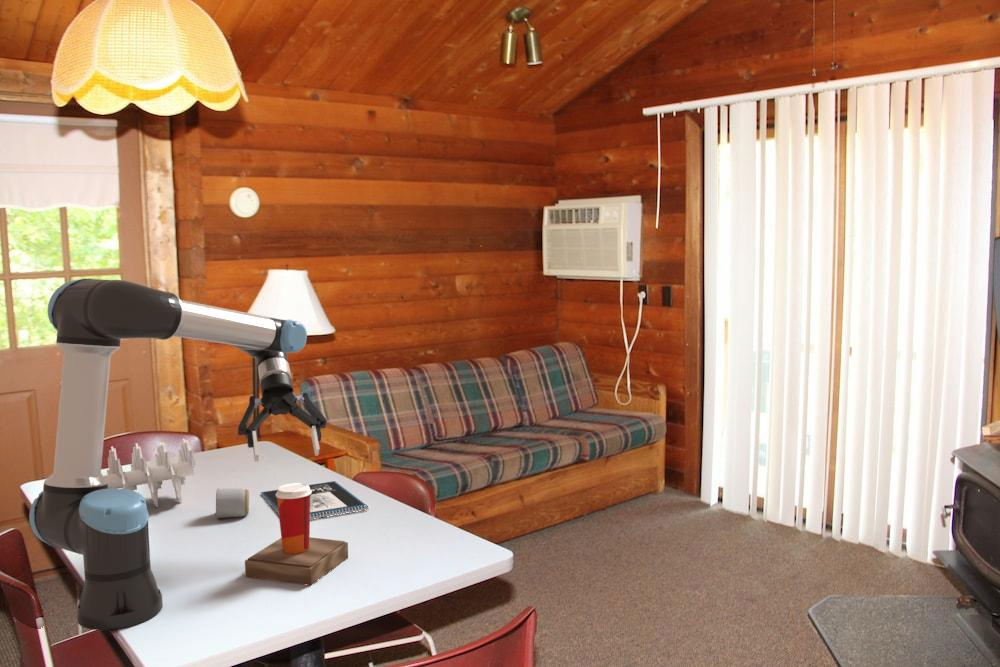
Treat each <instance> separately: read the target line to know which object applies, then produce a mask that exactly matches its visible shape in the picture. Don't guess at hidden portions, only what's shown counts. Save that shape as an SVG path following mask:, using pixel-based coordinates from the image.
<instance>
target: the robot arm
mask: <svg viewBox="0 0 1000 667" xmlns="http://www.w3.org/2000/svg"><path fill="white" fill-rule="evenodd" d="M47 317H48V319H49V323H50V324H51V325H52V326H53V328H54V329H55V331H56V342H55V344H56V345H57V347H58V348H59V349H60V350H61V351H62V352H63V359H62V360H63V361H62V370H61V372H62V373H61V383H60V393H59V394H60V395H59V406H58V416H57V417H58V418H57V428H56V440H55V451H54V461H53V472H52V474H51V475H49V476H48V477H47V478H46V479H44V481H43V486H42V487H43V490H42V491H41V492H40V493H39V494H38V496H37V497H36V498H34V500H33V501H32V503H31V505H30V510H29V515H28V517H29V518H28V519H29V525H30V528H31V531H32V532H33V534H34V535H35V536H36V538H38V539H39V540H40V541H41V542H44V543H45V544H47V545H48V546H51V547H53V548H56V549H60V550H65V551H69V552H72V553H75V554H79V555H81V556H82V557H83V570H84V571H83V573H84V582H83V586H82V589H81V593H80V597H79V602H78V604H77V607H76V617H77V618H76V619H77V624H78V625H79V626H81V627H82V628H85V629H88V630H93V631H96V630H97V631H109V630H117V629H118V630H119V629H123V628H127V627H131V626H136V625H138V624H141V623H143V622H146V621H148V620H150V619H152V618H154V617H155V616H157V615H158V614H159V613H160V612H161V611H162V608H163V606H164V605H163V593H162V591H161V589H160V588H158V585H157V581H156V578H155V575H154V573H153V571H152V566H151V552H150V551H151V549H150V534H149V532H150V531H149V517H150V516H149V511H148V506H147V501H146V498H144V496H143V495H142V494H141V493H140V492H138V491H137V490H129V489H123V488H119V489H116V488H109V489H108V480H107V479H106V478H105V477H104V476H105V475H103V474H102V466H103V465H102V463H103V454H104V453H103V452H104V441H105V430H106V428H105V427H106V418H107V406H108V393H109V383H110V382H109V381H110V371H111V359H112V355H113V354H114V353H116V352H117V351H118V350H119V349H120V348H121V340H125V339H127V340H128V339H155V340H156V339H157V340H164V341H166V340H169V339H172V338H173V337H175V338H176V337H178V338H184V339H191V340H196V341H197V340H198V341H205V342H210V343H216V344H217V343H218V344H226V345H231V346H232V347H235V348H236V349H238V350H240V351H242V352H244V353H246V354H247V355H249V356H251V357H252V358H254V359H255V360H256V365H257V370H258V379H259V383H260V385H259V386H260V391H261V392H260V393H261V398H255V396H253V395H251V396H249V400H248V406H247V408H246V411H245V412H244V414H243V417H242V418H241V420H240V422H239V424H238V427H237V434H238V436H245V438H246V442H247V447H248V449H250V448H252V452H253V458H254V462H259V457H260V452H259V447H258V446H259V444H258V438H257V430H258V429H259V428H260V426H261V425H262V424H263V423H264V422H265V420H266V419H268V418H269V417H270V415H273V416H279V415H282V416H283V415H288V414H290V415H291V416H292V417H296V418H297V419H298V420H299V421H301V422H302V423H304V424H305V425H306V426H307V427H308V428H310V429H311V430H310V436H311V441H312V448H313V451H314V456H315V457H316V456H317V457H318V456H319V454H320V449H321V448H320V444H319V443H321V441H322V430H321V429H325V428H326V426H327V423H328V420H327V419H326V417H325V416H324V415H323V414H322V413H321V412H320V410H319V409H318V408H317V406H316V405H315V404H314V403H313V401H312V400H311V399H310V397H309V394H308V393H307V392H303V393H302V394H301V395H296V394H295V391H294V385H293V380H292V374H291V368H290V364H289V363H290V362H289V357H288V354H291V353H293V354H294V353H295V354H296V353H299V352H301V351H302V350H303V349H304V347H305V346H306V345H307V339H308V338H307V337H308V333H307V332H308V331H307V329H306V327H305V325H304V324H303V323H302V322H301V321H297V320H293V319H280V318H277V317H276V318H275V317H268V316H265V315H259V314H254V313H250V312H244V311H239V310H234V309H229V308H226V307H225V308H223V307H219V306H214V305H209V304H205V303H204V304H203V303H198V302H194V301H189V300H183V299H180V297H179V295H178V294H175V293H173V292H169V291H163V290H161V289H157V288H153V287H149V286H147V285H146V286H145V285H144V284H139V283H136V282H132V281H127V280H123V279H99V278H91V277H90V278H81V279H73V280H69V281H67V282H64V283H62V285H60V286H59V287H58V288H57V289H55V291H54V292H53V293H52V295H51V297H50V298H49V301H48V304H47ZM297 402H298V403H299V404H300V405H301V406H303V408H304V409H305V410H306V411H305V410H304V409H302V408H301V407H300V405H299V404H298V403H297ZM259 405H260V406H262V410H261V411H260V412H259V413H258V414H257V416H256V417H255V418H254V419H253V420H252V422H251V423H250V424H249V422H250V421H251V418H252V415H254V411H255V409H257V408H258V407H259ZM248 424H249V425H248Z"/></svg>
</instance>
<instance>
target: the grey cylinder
mask: <svg viewBox="0 0 1000 667" xmlns="http://www.w3.org/2000/svg"><path fill="white" fill-rule="evenodd" d="M249 511H250V490H248V489H247V488H243V487H242V488H241V487H240V488H237V487H235V488H229V487H228V488H222V487H221V488H216V493H215V516H216V517H215V518H216V519H217V520H219V519H229V518H240V517H241V518H242V517H246V516H248V515H249Z"/></svg>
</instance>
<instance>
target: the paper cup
mask: <svg viewBox="0 0 1000 667" xmlns="http://www.w3.org/2000/svg"><path fill="white" fill-rule="evenodd" d="M309 485H310V484H304V483H300V482H293V483H287V484H283V485H280V486H279V487H277V489H276V490H277V493H276V494H275V495H276V497H277V501H278V510H279V514H278V519H279V520H278V521H279V528H280V536H281V537H280V538H281V539H282V547H283V552H284V553H287V554H300V553H303V552H306V551H307V550H308V549H309V537H310V533H311V532H310V529H311V528H310V526H311V525H310V524H311V523H310V522H311V521H310V494H311V493H312V491H311V490H310V487H309Z"/></svg>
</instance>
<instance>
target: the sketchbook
mask: <svg viewBox="0 0 1000 667" xmlns="http://www.w3.org/2000/svg"><path fill="white" fill-rule="evenodd" d="M308 485H309V487H310V490H311V491H312V493H311V494H310V520H311V519H313V520H314V521H315V520H316V519H317V518H320V519H323V518H324V517H325V519H327V518H329V517H330V515H333V517H335V516H334V515H335V514H336V515H337V514H339V515H340V514H341V513H342V515H345V514H346V512H349V514H353V511H355V512H356V511H358V512H359V510H361V511H362V510H364V511H365V509H366V510H367V509H368V510H369V506H368V505H367V504H366V503H365V502H363V501H362V500H360V499H359V498H358V497H357V496H355V495H354V494H352V492H350V491H349V490H347V489H346V488H345V487H343V486H342V485H341V484H339V483H338V482H336V481H335V480H334V481H333V480H332V481H326V482H321V483H313V484H308ZM277 490H278V489H272V490H268V491H267V490H266V491H262V492H260V493H261V494H260V495H262V497H263V498H264V499H265V500H266V501H267V503H268V504H269V503H270V504H271V505H270V504H269V505H270V506H271V507H272V508H273V509H274V510H275V511H276V513H277V512H278V513H279V510H278V501H277V497H276V495H275V494H276V493H277ZM368 510H367V511H368ZM361 511H360V512H361ZM364 511H362V512H364ZM350 512H352V513H350ZM358 512H356V513H358ZM360 512H359V513H360ZM365 512H366V511H365ZM278 513H277V514H278ZM343 513H345V514H343ZM339 515H337V516H339ZM342 515H340V516H342ZM346 515H347V514H346ZM327 516H329V517H327ZM321 517H323V518H321ZM314 518H316V519H314ZM330 518H331V517H330ZM313 520H311V521H313ZM317 520H318V519H317Z"/></svg>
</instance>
